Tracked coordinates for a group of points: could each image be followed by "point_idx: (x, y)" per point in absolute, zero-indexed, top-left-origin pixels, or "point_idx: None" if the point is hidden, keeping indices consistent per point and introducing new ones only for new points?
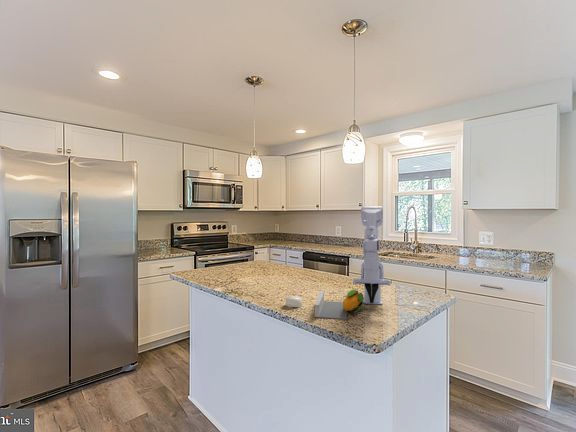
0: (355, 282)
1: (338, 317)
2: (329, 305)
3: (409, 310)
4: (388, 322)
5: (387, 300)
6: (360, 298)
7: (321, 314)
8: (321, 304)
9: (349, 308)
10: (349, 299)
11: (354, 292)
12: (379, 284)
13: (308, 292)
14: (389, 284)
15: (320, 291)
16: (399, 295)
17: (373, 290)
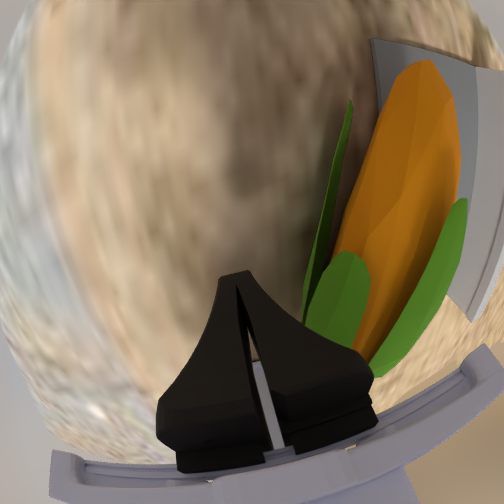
0: (480, 370)
1: (414, 55)
2: None
3: (62, 343)
4: (82, 79)
5: None
6: (343, 284)
7: (473, 101)
8: (488, 196)
9: (402, 74)
10: (441, 171)
11: (410, 311)
12: (170, 468)
13: (451, 347)
14: (58, 461)
15: (484, 307)
16: None
17: (229, 366)
